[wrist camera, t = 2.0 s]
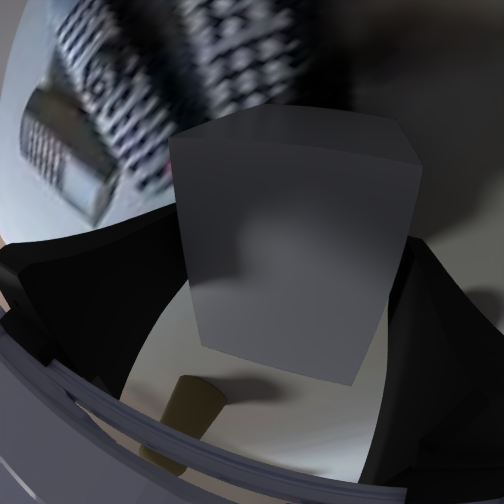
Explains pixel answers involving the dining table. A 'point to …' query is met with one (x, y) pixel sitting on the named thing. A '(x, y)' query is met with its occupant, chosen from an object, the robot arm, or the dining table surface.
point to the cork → (187, 417)
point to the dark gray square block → (294, 232)
